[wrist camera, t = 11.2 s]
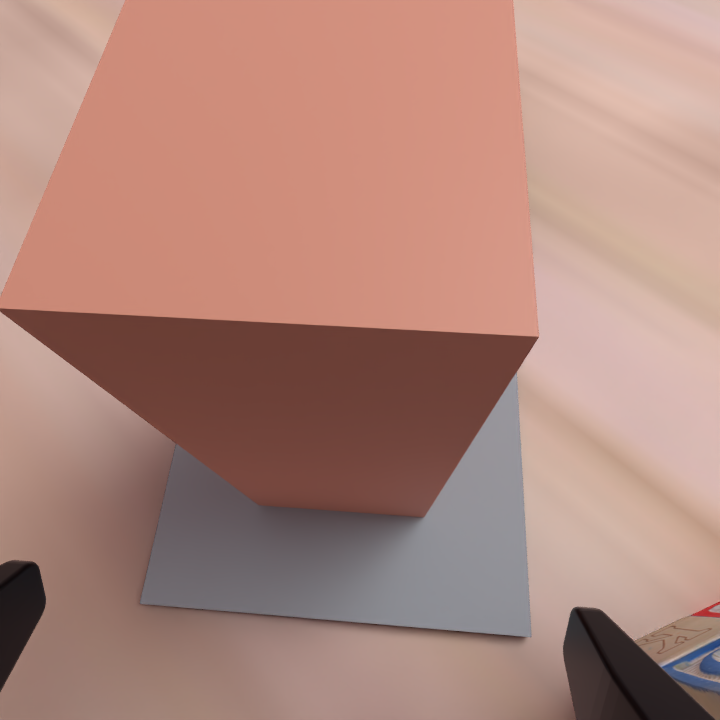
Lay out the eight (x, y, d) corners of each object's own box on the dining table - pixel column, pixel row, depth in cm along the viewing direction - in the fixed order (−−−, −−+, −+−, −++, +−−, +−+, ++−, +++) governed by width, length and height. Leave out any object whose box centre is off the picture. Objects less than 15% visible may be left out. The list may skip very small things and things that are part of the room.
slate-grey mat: (527, 636, 16) (531, 637, 15) (144, 603, 16) (139, 603, 16) (509, 298, 21) (512, 292, 20) (216, 283, 21) (213, 278, 21)
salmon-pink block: (424, 517, 17) (539, 336, 5) (258, 505, 17) (-5, 307, 5) (427, 364, 19) (512, -11, 7) (281, 355, 19) (132, -18, 8)
